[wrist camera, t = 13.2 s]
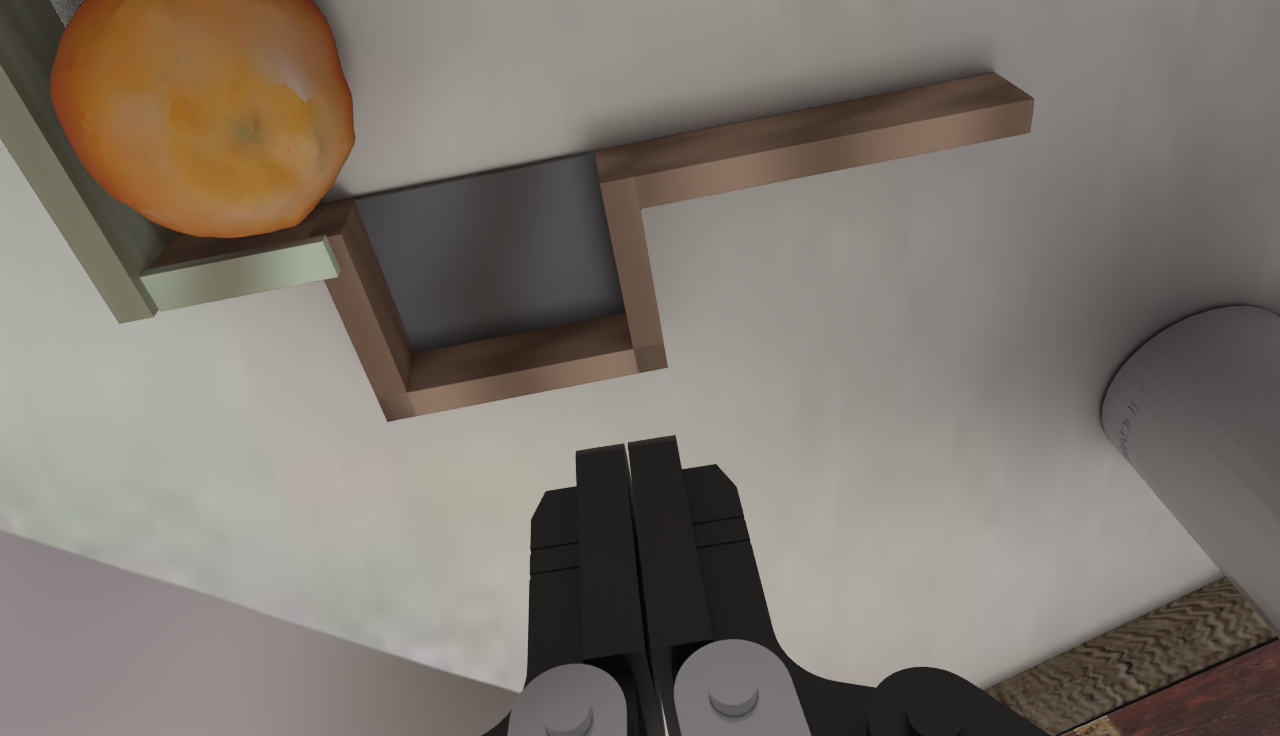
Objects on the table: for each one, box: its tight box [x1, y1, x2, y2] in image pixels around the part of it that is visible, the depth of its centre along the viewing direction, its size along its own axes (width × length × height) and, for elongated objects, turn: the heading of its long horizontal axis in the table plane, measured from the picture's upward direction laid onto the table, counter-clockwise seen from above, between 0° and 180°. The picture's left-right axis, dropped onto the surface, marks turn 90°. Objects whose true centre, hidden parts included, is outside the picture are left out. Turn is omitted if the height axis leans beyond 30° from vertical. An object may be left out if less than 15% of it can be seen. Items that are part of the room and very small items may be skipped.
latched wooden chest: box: [984, 577, 1280, 736], centre depth 55 cm, size 29×19×5 cm, turn 127°
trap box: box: [0, 0, 1034, 422], centre depth 26 cm, size 32×27×4 cm
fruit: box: [50, 0, 355, 238], centre depth 26 cm, size 8×8×8 cm
